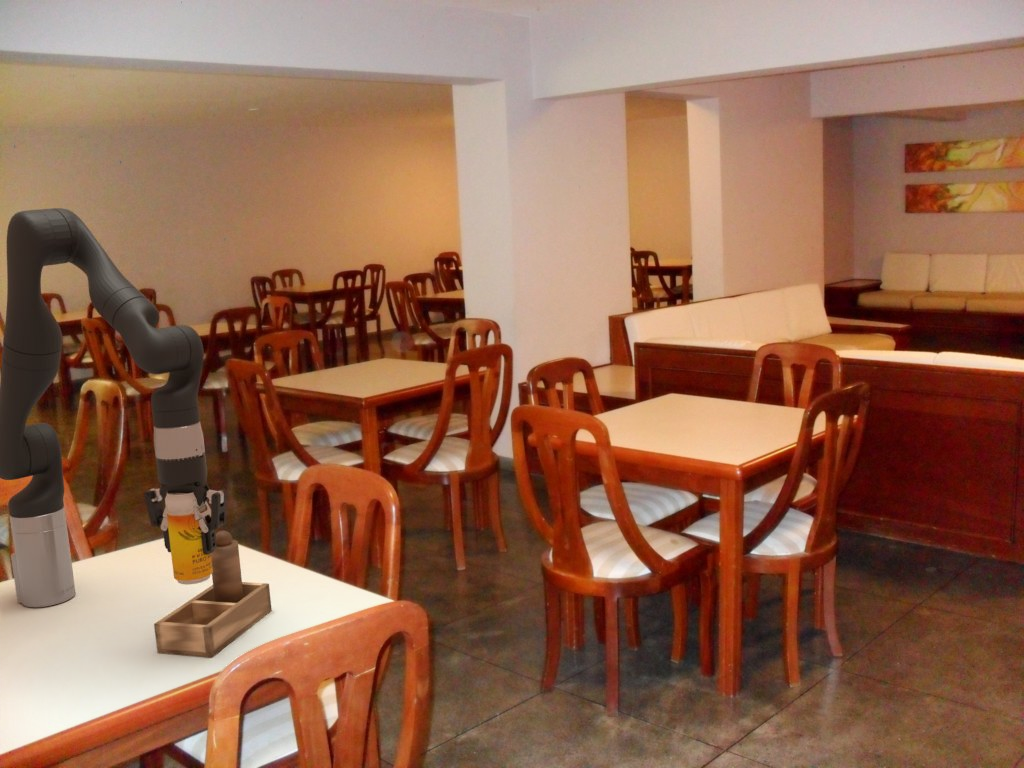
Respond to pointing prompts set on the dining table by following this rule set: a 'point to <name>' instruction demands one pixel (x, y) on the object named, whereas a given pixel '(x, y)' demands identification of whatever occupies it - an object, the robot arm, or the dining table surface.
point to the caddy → (215, 608)
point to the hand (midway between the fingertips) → (191, 551)
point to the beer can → (186, 539)
